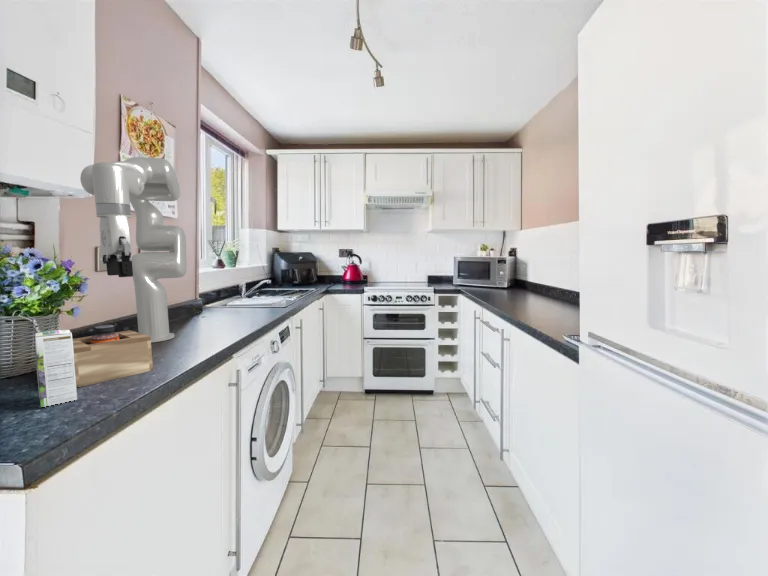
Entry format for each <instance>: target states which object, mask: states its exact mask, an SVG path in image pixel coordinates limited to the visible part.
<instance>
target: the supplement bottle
mask: <svg viewBox="0 0 768 576" xmlns="http://www.w3.org/2000/svg"><path fill="white" fill-rule="evenodd" d="M91 336H92V337H91V344H95V343H101V342H107V341H114V340H119V335H118V334H117V333H116V331H115V325H113V324H105V325H104V324H103V325H97V326H95V327H94V335H91Z"/></svg>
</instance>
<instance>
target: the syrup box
mask: <svg viewBox="0 0 768 576" xmlns="http://www.w3.org/2000/svg"><path fill="white" fill-rule="evenodd" d="M34 338H35V339H34V340H35V341H34V342H35V343H34V345H35V362H36V375H37V384H38V385H37V386H38V396H39V405H40V408H41V407H45V408H47V407H46V406H49V407H52V406H51V405H54V406H56V405H55V404H58V405H61V404H60V403H62V404H66V403H65V402H67V403H69V401H71V402H75V401H78V391H77V389H78V388H76V376H75V364H74V351H73V340H72V339H73V334H72V331H71V330H70V329H58V330H57V329H56V330H54V329H53V330H47V331H46V330H45V331H42V332H41V331H40V332H35V333H34ZM74 400H75V401H74Z"/></svg>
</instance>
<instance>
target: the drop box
mask: <svg viewBox="0 0 768 576" xmlns="http://www.w3.org/2000/svg"><path fill="white" fill-rule="evenodd" d="M115 333H117V334H118V335H119V340H114V341H107V342H101V343H95V344H91V337H92V336H93V335H90V336H84V337H77V338H76V337H75V338H72V340H73V351H74V364H75V376H76V388H77V387H79V388H82V386H83V387H87V386H91V385H96V384H101V383H104V382H107V381H112V380H117V379H121V378H126V377H131V376H134V375H139V374H144V373H147V372H151V371H154V363H153V355H152V354H153V352H152V343H151V337H150V336H147V335H144V334H141V333H139V332H137V331H135V330H130V329H129V330H123V331H117V332H116V331H115ZM77 389H78V388H77Z"/></svg>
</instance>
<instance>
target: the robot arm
mask: <svg viewBox="0 0 768 576" xmlns="http://www.w3.org/2000/svg"><path fill="white" fill-rule="evenodd" d="M79 179H80V184H81V186H82V188H83V190H84V191H85V192H86V193H88V195H89V194H90V195H92V196H94V203H95V204H94V205H95V212H96V218H99V240H100V242H99V243H100V253H101V254H103V255H106V256H105V260H106V261H105V264H106V273H107V276H110V277H111V276H118V278H131V277H132V279H133V285H134V286H133V287H134V294H135V305H136V306H135V307H136V308H135V309H136V316H137V317H136V319H137V329H138V332H137V333H141V334H144V335H147V336H150V337H151V344H152V343H158V342H163V341H164V342H165V341H168V340H171V339H173V338H175V333H174V332H170V326H169V325H170V324H169V322H170V321H169V310H168V296H167V290H166V288H165V287H164V286H163V284H162V283H161V282H159V280H160V279H180V278H182V277H184V276H185V275H186V272H187V239H186V234H185V231H184V229H183V228H182V227H181V226H178V225H171V224H170V225H169V224H168V225H166V224H164V215H163V213H162V212H161V211H160V210H159V209H158V208H157V206H155V205H154V204H152V202H175V201H178V199H179V198H180V196H181V188H180V185H179V182H178V178H177V176H176V172H175V169H174V168H173V165H172V164H171V162H170V161H169V160H167V159H165V158H159V157H158V158H156V157H144V156H143V157H142V156H134V157H130V158H127V159H125V160H121V161H111V162H102V161H99V162H95V163H94V164H93V165H92V164H90V165H88V166H85V167H84V168H83V169H82V170H81V172H80V178H79ZM150 201H151V202H150ZM131 207H132V208H133V211H134V213H135V215H136V216H135V219H136V222H135V244H136V247H137V248H138V249H139V250H140V251H141V250H142V251H143V252H139V253H138V252H137V253H135V254H134V255H132V250H133V249H132V248H133V246H132V236H131V229H130V223H129V219H132V211H131Z"/></svg>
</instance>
